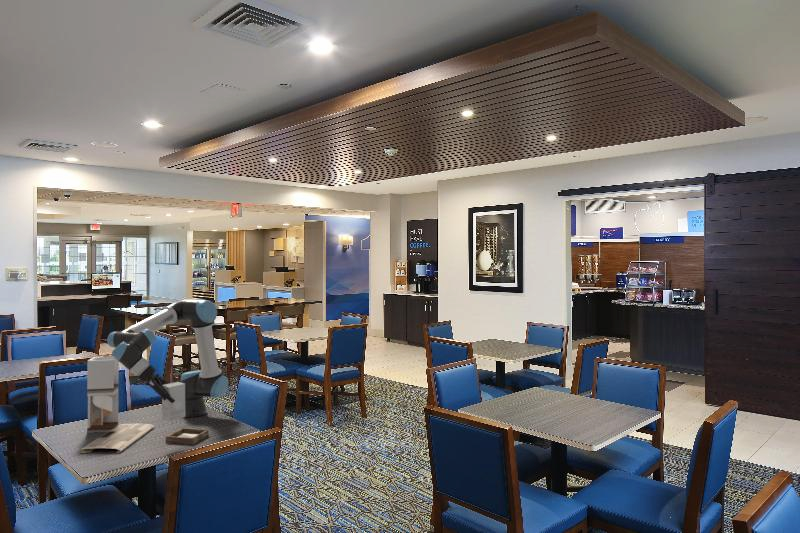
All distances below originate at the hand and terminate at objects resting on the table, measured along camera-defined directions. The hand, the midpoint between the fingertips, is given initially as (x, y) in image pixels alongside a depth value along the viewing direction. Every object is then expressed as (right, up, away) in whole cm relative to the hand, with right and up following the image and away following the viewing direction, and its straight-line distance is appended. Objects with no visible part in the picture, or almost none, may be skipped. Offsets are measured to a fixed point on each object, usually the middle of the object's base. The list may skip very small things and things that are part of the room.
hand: (181, 403), depth 253 cm
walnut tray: (0, -19, +8) cm, 20 cm away
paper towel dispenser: (-47, -18, +22) cm, 55 cm away
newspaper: (-30, -19, +6) cm, 36 cm away
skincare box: (-3, -7, -1) cm, 7 cm away
